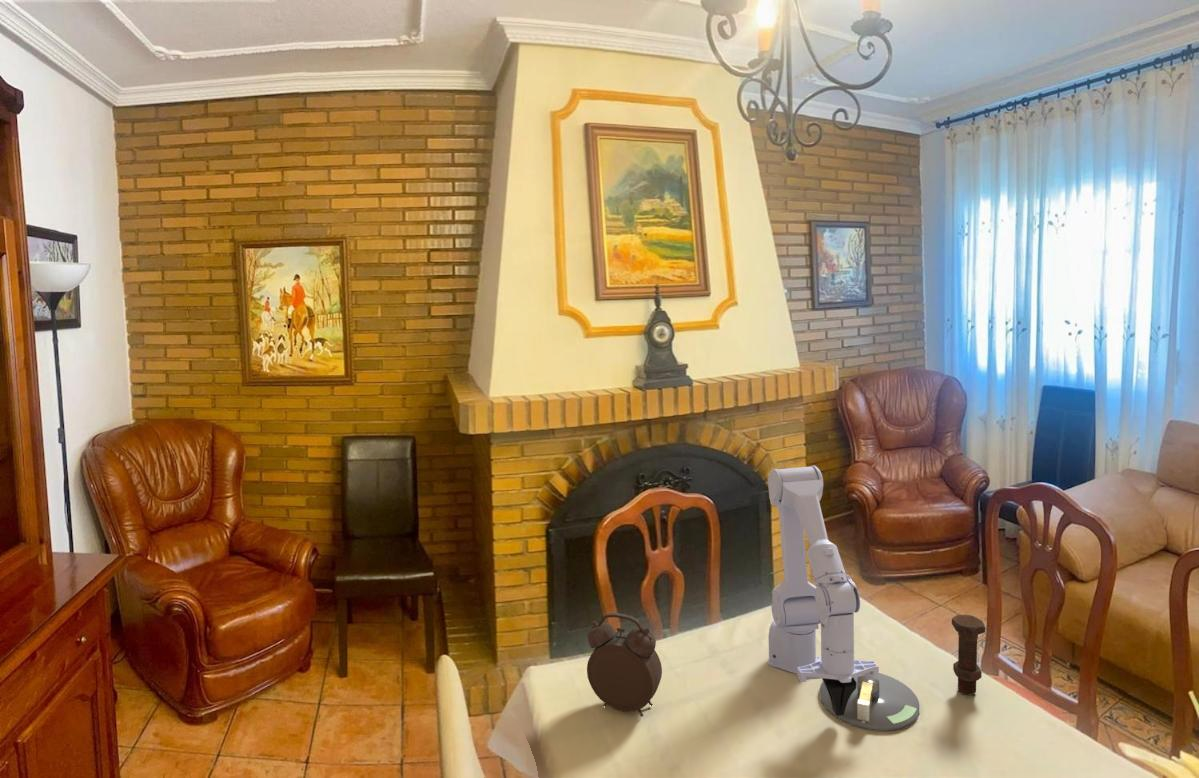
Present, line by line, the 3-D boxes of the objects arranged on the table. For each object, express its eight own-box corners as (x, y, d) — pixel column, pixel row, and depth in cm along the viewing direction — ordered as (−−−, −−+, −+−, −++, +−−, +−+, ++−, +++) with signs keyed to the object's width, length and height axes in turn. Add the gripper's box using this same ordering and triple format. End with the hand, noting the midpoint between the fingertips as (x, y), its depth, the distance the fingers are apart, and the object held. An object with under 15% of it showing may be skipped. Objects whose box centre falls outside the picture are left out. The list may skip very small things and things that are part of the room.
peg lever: (858, 686, 131) (858, 671, 131) (880, 691, 129) (880, 675, 129) (851, 718, 122) (851, 701, 121) (874, 724, 120) (874, 707, 120)
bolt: (986, 701, 126) (988, 629, 124) (957, 699, 127) (959, 627, 125) (975, 683, 132) (977, 613, 130) (948, 682, 133) (949, 612, 131)
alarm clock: (667, 703, 132) (662, 610, 129) (654, 726, 125) (649, 628, 122) (601, 689, 138) (595, 600, 135) (586, 710, 132) (579, 616, 129)
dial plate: (806, 709, 127) (806, 704, 127) (837, 664, 141) (837, 659, 141) (906, 744, 116) (906, 738, 116) (928, 692, 130) (929, 686, 130)
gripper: (805, 659, 116) (807, 729, 118) (886, 653, 117) (886, 722, 119) (792, 639, 123) (794, 705, 125) (868, 632, 124) (869, 698, 126)
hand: (838, 712), depth 123 cm, fingers closed
